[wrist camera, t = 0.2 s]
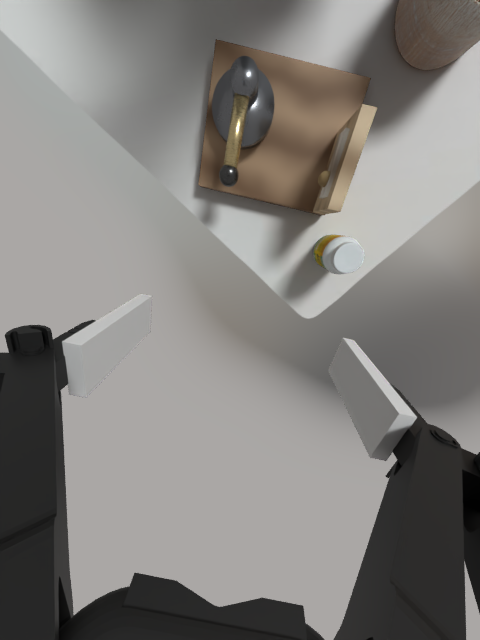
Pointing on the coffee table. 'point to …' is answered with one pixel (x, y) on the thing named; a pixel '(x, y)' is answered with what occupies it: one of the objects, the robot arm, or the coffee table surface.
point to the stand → (294, 134)
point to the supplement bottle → (338, 254)
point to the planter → (436, 30)
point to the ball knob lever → (241, 112)
